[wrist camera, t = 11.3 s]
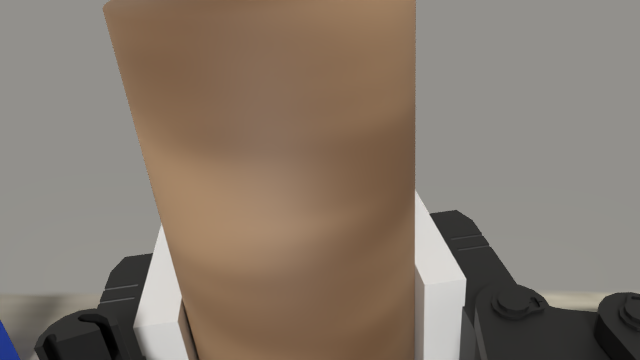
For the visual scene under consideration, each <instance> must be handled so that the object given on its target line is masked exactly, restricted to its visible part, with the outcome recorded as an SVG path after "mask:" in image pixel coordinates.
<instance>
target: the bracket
mask: <svg viewBox="0 0 640 360" xmlns="http://www.w3.org/2000/svg"><path fill="white" fill-rule="evenodd" d="M0 360H20V358H19V356H18V354H17V352H16V350H15V348H14V346H13V344H12V342H11V340H10V338H9V336H8V334H7V332H6V330H5V328H4V326H3V324H2V322H1V320H0Z"/></svg>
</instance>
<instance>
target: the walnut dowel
mask: <svg viewBox="0 0 640 360" xmlns="http://www.w3.org/2000/svg"><path fill="white" fill-rule="evenodd" d="M415 1H416V0H111V1H109V2H107V3H106V4H105V5H104V7H103V12H104V15H105V19H106V23H107V27H108V30H109V34H110V37H111V41H112V45H113V48H114V52H115V56H116V59H117V63H118V66H119V70H120V74H121V77H122V81H123V85H124V88H125V92H126V96H127V99H128V103H129V106H130V110H131V114H132V117H133V121H134V124H135V128H136V132H137V135H138V139H139V143H140V146H141V150H142V154H143V157H144V161H145V165H146V168H147V172H148V175H149V178H150V183H151V186H152V190H153V194H154V197H155V201H156V204H157V208H158V212H159V215H160V219H161V223H162V226H163V230H164V234H165V237H166V241H167V245H168V248H169V252H170V255H171V259H172V263H173V266H174V270H175V274H176V277H177V281H178V284H179V288H180V292H181V295H182V299H183V303H184V306H185V310H186V314H187V317H188V321H189V324H190V328H191V332H192V335H193V339H194V343H195V346H196V350H197V353H198V357H199V360H414V354H415V30H416V25H415V22H416V21H415V20H416V19H415V18H416V13H415V12H416V9H415V8H416V7H415V6H416V3H415Z"/></svg>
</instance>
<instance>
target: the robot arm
mask: <svg viewBox="0 0 640 360" xmlns="http://www.w3.org/2000/svg"><path fill="white" fill-rule="evenodd" d="M34 349H35V351H36V353H37V355H38V357H39V359H40V360H199V357H198V353H197V350H196V346H195V343H194V339H193V335H192V332H191V328H190V324H189V321H188V317H187V314H186V310H185V306H184V303H183V299H182V295H181V292H180V288H179V284H178V281H177V277H176V274H175V270H174V266H173V263H172V259H171V255H170V252H169V248H168V245H167V241H166V237H165V234H164V230H163V226H162V224H161V228H160V231H159V235H158V238H157V242H156V246H155V249H154V253H151V254H145V255H137V256H129V257H125V258H124V259H123V260H122V261H121V262H120V263H119V264H118V265H117V266H116V267H115V268H114V269H113V270H112V272H111V273H110V276H109V278H108V281H107V284H106V286H105V291H103V294H102V297H101V299H100V304H99V305H98V307H97V309H87V310H81V311H77V312H75V313H72V314H70V315H67V316H65V317H63V318H61V319H60V320H58V321H57V322H55V323H54V324H52V325H51V326H49V327H48V328H47V329H46V331H45V332H44V333H43V334H42V335H41V336H40V337H39V339H38V341H37V343H36V346H35V348H34ZM414 360H640V294H637V293H632V292H627V293H615V294H612V295H609V296H606V297H605V298H604V299H603V300H602V301H601V302H600V304H599V307H598V312H589V311H578V310H567V309H561V308H555V307H551V306H549V304H548V303H547V301H546V300H545V299H544V297H542V296H541V295H539V294H538V293H537V292H535V291H534V290H532V289H529V288H526V287H524V286H521V285H517V284H516V282H515V281H514V280H513V278H512V276H511V275H510V273H509V272H508V271H507V269H506V268H505V266H504V265H503V263H502V262H501V260H500V259H499V258H498V256H497V255H496V253H495V252H494V250H493V249H492V248H491V247H489V243H488V242H487V240H486V239H485V238H484V236H482V233H481V232H480V231H479V229H478V228H477V226H476V225H475V223H474V222H473V220H471V219H470V218H468V217H466V216H465V215H463V214H462V213H460V212H459V211H457V210H454V211H446V212H438V213H431V214H429V213H428V211H427V209H426V208H425V206H424V204H423V203H422V201H421V199H420V197H419V196H418V194H417V192H416V190H415V354H414Z"/></svg>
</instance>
